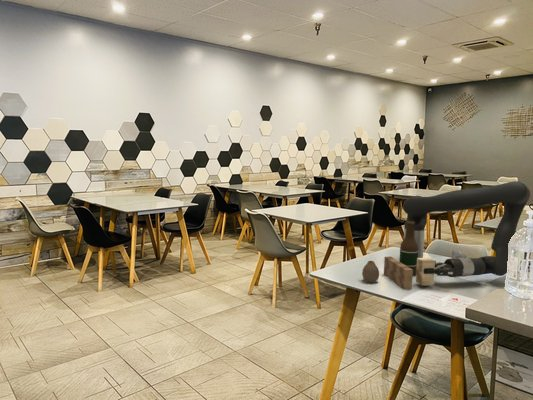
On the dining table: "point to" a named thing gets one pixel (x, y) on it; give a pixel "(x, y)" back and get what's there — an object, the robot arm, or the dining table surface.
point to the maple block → (420, 276)
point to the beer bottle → (409, 248)
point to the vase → (370, 272)
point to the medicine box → (458, 254)
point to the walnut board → (398, 272)
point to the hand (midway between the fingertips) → (420, 269)
